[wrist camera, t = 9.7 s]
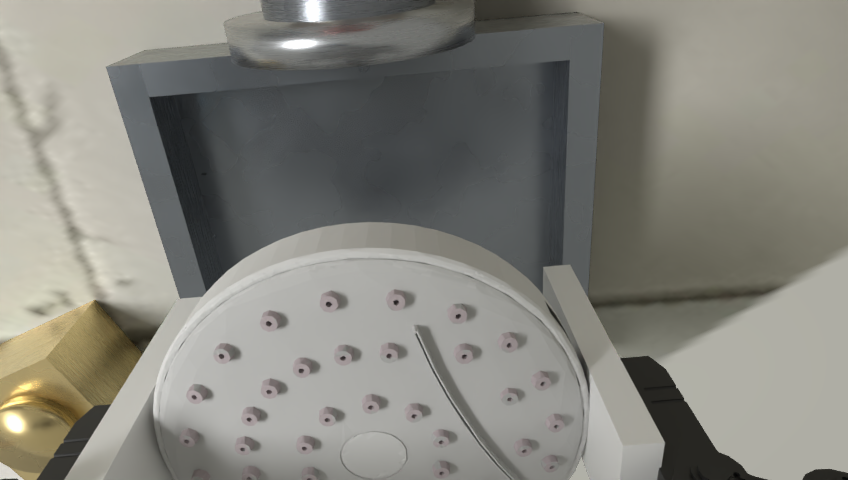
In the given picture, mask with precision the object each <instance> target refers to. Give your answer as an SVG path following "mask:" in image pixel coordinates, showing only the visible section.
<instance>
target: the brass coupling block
mask: <svg viewBox="0 0 848 480" xmlns="http://www.w3.org/2000/svg"><path fill="white" fill-rule="evenodd" d="M142 355H143V354H142V353H141V352H140V351H139V349H138V348H137V347H136V346H135V345H134V344H133V343H132V342H131V340H130V339H129V338H128V337H127V336H126V335H125V334H124V333H123V331H122V330H121V329H120V328H119V327H118V326H117V325H116V323H115V322H114V321H113V320H112V319H111V318H110V317H109V316H108V314H107V313H106V312H105V311H104V310H103V309H102V308H101V307H100V305H99V304H98V303H97V302H96V301H95V300H93V301H91V302H89V303H87V304H85V305H83V306H81V307H78V308H76V309H74V310H72V311H70V312H68V313H66V314H64V315H61V316H59V317H57V318H55V319H53V320H51V321H49V322H46V323H44V324H42V325H40V326H38V327H36V328H34V329H31V330H29V331H27V332H25V333H23V334H21V335H19V336H16V337H14V338H12V339H10V340H8V341H6V342H4V343H2V344H1V345H0V462H1V463H3V464H5V465H7V466H9V467H10V468H11V469H12V470H13V471H15V472H16V473H17V474H18V475H19V476H20V477H22V478H23V479H24V480H37V478H38V477H39V475H40V474H41V472H42V471H43V469H44V468H45V467H46V465H47V464H48V462H49V461H50V459H51V458H53V457H54V453H55V452H56V450H57V449H58V447H59V446H60V444H62V443H63V442H64V441H63V440H64V438H65V437H66V435H67V434H68V433H69V431H70V430H71V428H72V427H73V425H74V424H75V422H76V421H77V420H79V419H80V418H81V417H82V416H83V415H84V414H86V413H87V412H88V411H89V410H90V409H91V408H93V407H94V406H96V405H107V404H112V403H113V401H114V399H115V398H116V396H117V395H118V393H119V391H120V390H121V388H122V387H123V385H124V383H125V382H126V380H127V379H128V377H129V375H130V374H131V372H132V371H133V369H134V367H135V366H136V364H137V363H138V361H139V359H140V358H141V356H142Z"/></svg>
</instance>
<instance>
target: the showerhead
mask: <svg viewBox="0 0 848 480" xmlns="http://www.w3.org/2000/svg"><path fill="white" fill-rule="evenodd" d="M153 417H154V428H155V432H156V437H157V442H158V445H159V449H160V452H161V454H162V457H163V459H164V461H165V463H166V465H167V467H168V469H169V471H170V473H171V475H172V477H173V479H174V480H569V479H570V478H571V476H572V475H573V473H574V472H575V470H576V467H577V465H578V463H579V460H580V458H581V455H582V453H583V450H584V447H585V444H586V440H587V433H588V421H589V393H588V386H587V382H586V378H585V375H584V372H583V368H582V366H581V364H580V361H579V359H578V357H577V355H576V352H575V350H574V348H573V346H572V344H571V342H570V340H569V338H568V336H567V334H566V331H565V330H564V328H563V326H562V324H561V321H560V319H559V318H558V316H557V315H556V313H555V312H554V310H553V309H552V307H551V306H550V304H549V303H548V301H547V300H546V299H545V297H544V296H543V294H542V293H541V292H540V290H539V289H538V288H537V287H536V286H535V285H534V284H533V283H532V282H531V281H530V280H529V279H528V278H527V277H526V276H524V275H523V274H522V273H521V272H519V271H518V270H517V269H516V268H514V267H513V266H512V265H511V264H509V263H508V262H506V261H505V260H503V259H502V258H500V257H499V256H497V255H496V254H494V253H492V252H490V251H488V250H486V249H485V248H483V247H481V246H479V245H477V244H474V243H472V242H470V241H467V240H465V239H462V238H460V237H457V236H454V235H451V234H448V233H444V232H441V231H438V230H434V229H429V228H424V227H420V226H415V225H407V224H398V223H384V222H362V223H346V224H339V225H332V226H326V227H321V228H317V229H313V230H308V231H304V232H301V233H298V234H295V235H292V236H289V237H286V238H283V239H281V240H279V241H276V242H274V243H272V244H270V245H268V246H266V247H264V248H262V249H260V250H258V251H256V252H255V253H253V254H251V255H249V256H248V257H246V258H244V259H243V260H241V261H240V262H239V263H237V264H236V265H235V266H233V267H232V268H231V269H229V270H228V271H227V272H226V273H225V274H224V275H223V276H222V277H221V278H220V279H219V280H218V281H216V282H215V283H214V285H213V286H212V287H211V288H210V289H209V290H208V291H207V292H206V293H205V294H204V295H203V297H202V298H201V299H200V301H199V302H198V304H197V305H196V307H195V308H194V310H193V311H192V313H191V314H190V316H189V317H188V319H187V321H186V322H185V324H184V325H183V327H182V328H181V330H180V332H179V333H178V335H177V336H176V338H175V339H174V341H173V343H172V344H171V346H170V348H169V350H168V352H167V354H166V356H165V358H164V360H163V362H162V365H161V368H160V371H159V374H158V377H157V381H156V386H155V392H154V403H153Z"/></svg>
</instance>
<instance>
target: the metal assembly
mask: <svg viewBox="0 0 848 480" xmlns="http://www.w3.org/2000/svg"><path fill="white" fill-rule="evenodd" d="M260 2H261V7H262V11H261V12H255V13H251V14H246V15H242V16H238V17H235V18H232V19H229V20H227V21H225V22H224V28H225V32H226V37H227V41H228V43H222V44H211V45H199V46H188V47H177V48H165V49H154V50H144V51H142V52H139V53H137V54H135V55H132V56H130V57H128V58H125V59H123V60H121V61H118V62H116V63H114V64H111V65H109V66H107V67H106V68H107V72H108V75H109V78H110V81H111V84H112V87H113V90H114V93H115V97H116V100H117V103H118V106H119V109H120V112H121V115H122V118H123V122H124V125H125V128H126V131H127V134H128V137H129V140H130V143H131V147H132V150H133V153H134V156H135V159H136V162H137V165H138V168H139V172H140V175H141V178H142V181H143V184H144V187H145V190H146V193H147V197H148V200H149V203H150V206H151V209H152V212H153V215H154V219H155V222H156V225H157V228H158V231H159V234H160V237H161V240H162V244H163V247H164V250H165V253H166V256H167V259H168V262H169V265H170V269H171V272H172V275H173V278H174V281H175V284H176V287H177V290H178V294H179V297H180V299H182V298H193V297H203V295H204V294H205V293H206V292H207V291H208V290H209V289H210V288H211V287H212V286H213V285H214V283H215V282H216V281H218V280H219V279H220V278H221V277H222V276H223V275H224V274H225V273H226V272H227V271H228V270H229V269H231V268H232V267H233V266H235V265H236V264H237V263H239V262H240V261H241V260H243V259H244V258H246V257H248V256H249V255H251V254H253V253H255V252H256V251H258V250H260V249H262V248H264V247H266V246H268V245H270V244H272V243H274V242H276V241H279V240H281V239H283V238H286V237H289V236H292V235H295V234H298V233H301V232H304V231H308V230H313V229H317V228H321V227H326V226H332V225H339V224H346V223H362V222H384V223H398V224H407V225H415V226H420V227H424V228H429V229H434V230H438V231H441V232H444V233H448V234H451V235H454V236H457V237H460V238H462V239H465V240H467V241H470V242H472V243H474V244H477V245H479V246H481V247H483V248H485V249H486V250H488V251H490V252H492V253H494V254H496V255H497V256H499V257H500V258H502V259H503V260H505V261H506V262H508V263H509V264H511V265H512V266H513V267H514V268H516V269H517V270H518V271H519V272H521V273H522V274H523V275H524V276H526V277H527V278H528V279H529V280H530V281H531V282H532V283H533V284H534V285H535V286H536V287H537V288H538V289H539V290H540V292H541V293H542V294H543V267H548V266H559V265H571V267H572V269H573V271H574V273H575V275H576V277H577V279H578V280H579V282H580V284H581V286H582V288H583V290H584V292H585V294H586V295H587V297H588V286H589V269H590V252H591V235H592V219H593V202H594V185H595V168H596V151H597V135H598V118H599V101H600V84H601V67H602V51H603V34H604V23H603V22H601V21H598V20H595V19H593V18H590V17H588V16H585V15H583V14H580V13H577V12H574V13H563V14H551V15H540V16H528V17H517V18H506V19H494V20H483V21H475V8H474V0H260Z"/></svg>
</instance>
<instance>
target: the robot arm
mask: <svg viewBox="0 0 848 480" xmlns="http://www.w3.org/2000/svg"><path fill="white" fill-rule="evenodd" d="M543 296H544V297H545V299H546V300H547V301H548V303H549V304H550V306H551V307H552V309H553V310H554V312H555V313H556V315H557V316H558V318H559V319H560V321H561V324H562V326H563V328H564V330H565V331H566V334H567V336H568V338H569V340H570V342H571V344H572V346H573V348H574V350H575V352H576V355H577V357H578V359H579V361H580V364H581V366H582V368H583V372H584V375H585V378H586V382H587V386H588V393H589V421H588V433H587V440H586V444H585V447H584V450H583V453H582V455H581V456H582V459H583V462H584V465H585V467H586V470H587V473H588V476H589V479H590V480H766V479H762V478H759V477H755V476H752V475H749V474H748V473H747V472H746V471H745V470H744V468H743V467H742V466H741V465H740V464H739V463H737V462H736V461H735V460H733V459H732V458H730V457H729V456H727V455H724V454H722V453H719V452H718V451H717V450H716V449H715V447H714V445H713V444H712V442H711V441H710V439H709V437H708V436H707V434H706V433H705V431H704V430H703V428H702V426H701V425H700V423H699V421H698V420H697V418H696V417H695V415H694V413H693V412H692V410H691V409H690V407H689V406H688V404H687V403H686V402H685V401H684V398H683V396H682V395H681V393H680V391H679V390H678V388H677V389H676V385H675V383H674V382H673V380H672V378H671V377H670V375H669V374H668V372H667V371H666V369H665V368H663V367H662V366H661V365H660V364H658V363H657V362H656V361H654V360H653V359H652V358H650V357H649V356H642V357H631V358H620V357H619V355H618V354H617V352H616V350H615V348H614V346H613V344H612V342H611V340H610V339H609V337H608V335H607V333H606V331H605V329H604V327H603V325H602V324H601V322H600V320H599V318H598V316H597V314H596V312H595V310H594V309H593V307H592V305H591V303H590V301H589V299H588V297H587V295H586V294H585V292H584V290H583V288H582V286H581V284H580V282H579V280H578V279H577V277H576V275H575V273H574V271H573V269H572V267H571V265H559V266H548V267H543ZM201 298H202V297H193V298H182V299H177V300H176V302H175V303H174V305H173V306H172V308H171V310H170V311H169V313H168V314H167V316H166V318H165V319H164V321H163V322H162V324H161V326H160V327H159V329H158V331H157V332H156V334H155V335H154V337H153V339H152V340H151V342H150V343H149V345H148V347H147V348H146V350H145V351H144V353H143V355H142V356H141V358H140V359H139V361H138V363H137V364H136V366H135V367H134V369H133V371H132V372H131V374H130V375H129V377H128V379H127V380H126V382H125V383H124V385H123V387H122V388H121V390H120V391H119V393H118V395H117V396H116V398H115V399H114V401H113V403H112V404H107V405H96V406H94V407H93V408H91V409H90V410H89V411H88V412H87V413H86V414H84V415H83V416H82V417H81V418H80V419H79V420H77V421H76V422H75V424H74V425H73V427H72V428H71V430H70V431H69V433H68V434H67V435H66V437H65V438H64V440H63V441H64V442H63V443H62V444H60V446H59V447H58V449H57V450H56V452H55V453H54V457H53V458H51V459H50V461H49V462H48V464H47V465H46V467H45V468H44V469H43V471H42V472H41V474H40V475H39V477H38V478H37V480H174V479H173V477H172V475H171V473H170V471H169V469H168V467H167V465H166V463H165V461H164V459H163V457H162V454H161V452H160V449H159V445H158V442H157V437H156V432H155V428H154V417H153V403H154V392H155V386H156V381H157V377H158V374H159V371H160V368H161V365H162V362H163V360H164V358H165V356H166V354H167V352H168V350H169V348H170V346H171V344H172V343H173V341H174V339H175V338H176V336H177V335H178V333H179V332H180V330H181V328H182V327H183V325H184V324H185V322H186V321H187V319H188V317H189V316H190V314H191V313H192V311H193V310H194V308H195V307H196V305H197V304H198V302H199V301H200V299H201ZM2 480H18V479H2ZM803 480H848V473H845V472H841V471H836V470H832V469H818V470H814V471H812V472H809V473H807V474H806V475H805V476H804V478H803Z"/></svg>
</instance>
